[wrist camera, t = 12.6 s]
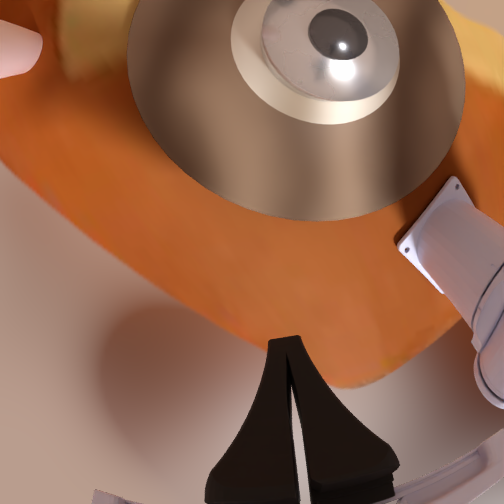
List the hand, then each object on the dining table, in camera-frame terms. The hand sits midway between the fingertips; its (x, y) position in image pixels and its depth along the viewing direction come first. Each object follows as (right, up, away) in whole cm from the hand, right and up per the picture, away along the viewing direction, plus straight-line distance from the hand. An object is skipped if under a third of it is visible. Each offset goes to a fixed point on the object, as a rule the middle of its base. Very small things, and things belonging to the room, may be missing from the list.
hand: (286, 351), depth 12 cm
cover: (+2, +16, 0) cm, 16 cm away
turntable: (+2, +17, +1) cm, 17 cm away
